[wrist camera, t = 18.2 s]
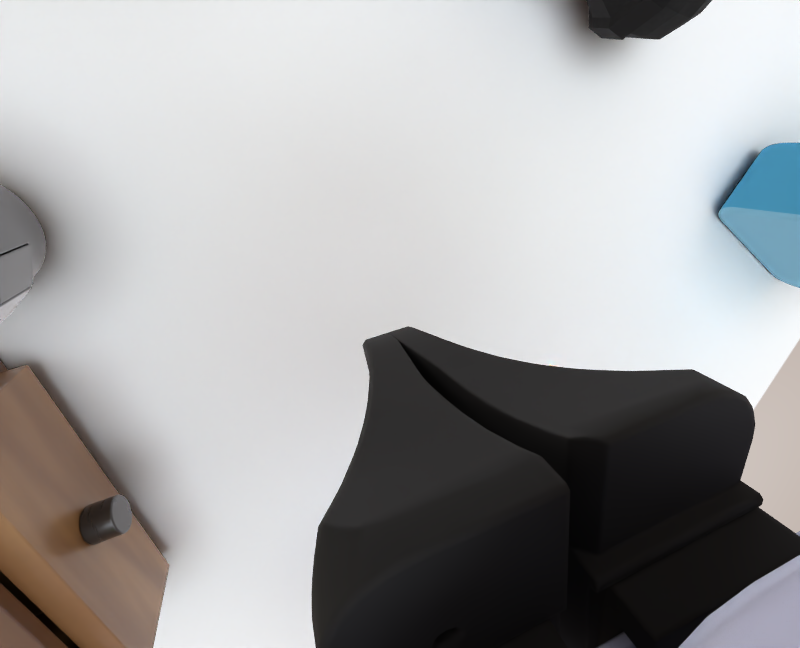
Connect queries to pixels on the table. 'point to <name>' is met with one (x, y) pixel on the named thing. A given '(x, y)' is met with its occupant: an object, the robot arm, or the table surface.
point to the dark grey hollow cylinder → (18, 250)
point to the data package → (769, 211)
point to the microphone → (641, 17)
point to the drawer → (70, 530)
